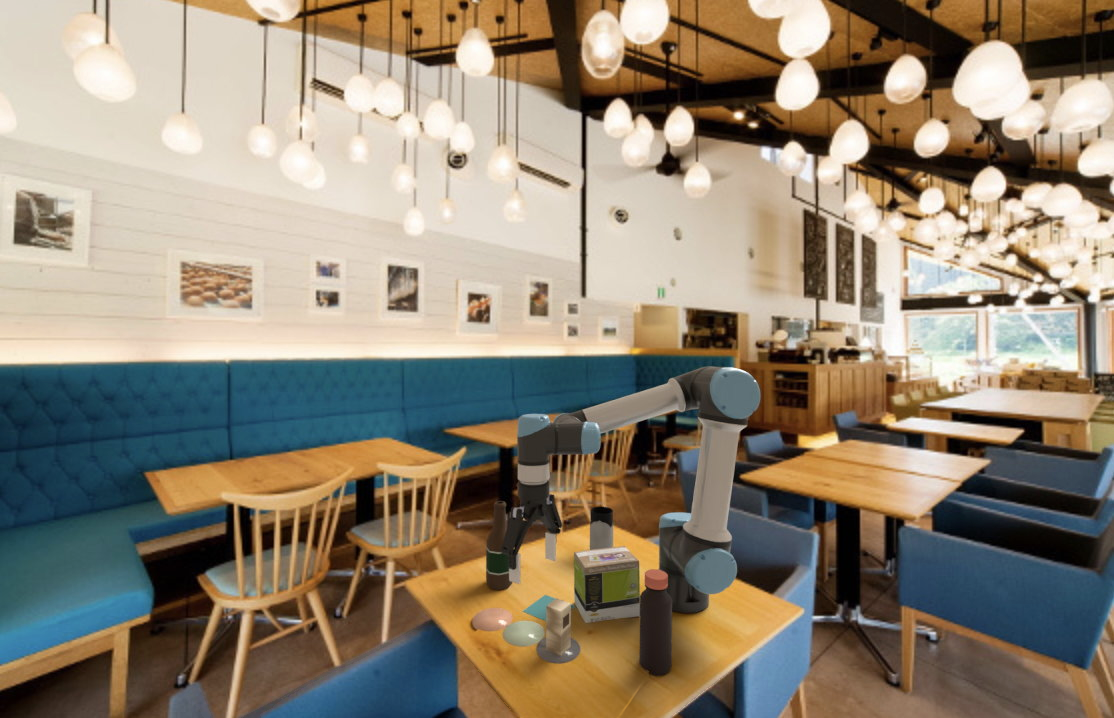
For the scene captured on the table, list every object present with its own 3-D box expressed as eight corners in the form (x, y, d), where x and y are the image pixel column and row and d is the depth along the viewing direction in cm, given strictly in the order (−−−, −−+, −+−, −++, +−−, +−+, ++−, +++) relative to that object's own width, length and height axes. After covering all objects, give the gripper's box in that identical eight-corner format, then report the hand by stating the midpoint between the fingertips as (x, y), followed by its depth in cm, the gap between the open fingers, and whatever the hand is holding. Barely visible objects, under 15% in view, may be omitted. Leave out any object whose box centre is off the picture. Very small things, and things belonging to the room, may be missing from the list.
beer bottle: (518, 583, 135) (518, 501, 134) (498, 593, 129) (499, 508, 128) (500, 574, 140) (500, 496, 139) (480, 584, 134) (480, 502, 133)
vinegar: (644, 677, 96) (645, 582, 96) (635, 656, 103) (636, 567, 102) (676, 675, 97) (677, 581, 96) (665, 654, 103) (666, 566, 103)
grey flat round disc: (588, 647, 106) (588, 644, 106) (564, 672, 97) (564, 669, 97) (552, 632, 111) (552, 629, 111) (527, 654, 103) (527, 651, 103)
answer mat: (575, 608, 122) (575, 606, 122) (554, 626, 113) (554, 624, 113) (545, 596, 127) (545, 594, 127) (522, 613, 119) (522, 611, 119)
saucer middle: (552, 632, 111) (552, 629, 111) (527, 654, 103) (527, 651, 103) (520, 618, 117) (520, 616, 117) (494, 638, 109) (494, 636, 109)
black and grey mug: (585, 558, 151) (586, 513, 151) (594, 541, 165) (594, 499, 165) (612, 562, 149) (612, 516, 149) (618, 544, 162) (618, 502, 162)
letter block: (570, 647, 105) (571, 603, 105) (561, 656, 101) (561, 611, 101) (556, 640, 107) (556, 598, 107) (546, 649, 104) (546, 605, 104)
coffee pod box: (625, 597, 127) (625, 544, 127) (640, 617, 118) (641, 560, 117) (573, 604, 124) (573, 549, 123) (584, 626, 114) (584, 566, 114)
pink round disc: (520, 618, 117) (520, 616, 117) (494, 638, 109) (494, 636, 109) (491, 606, 123) (491, 603, 122) (464, 624, 114) (464, 621, 114)
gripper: (551, 467, 120) (551, 547, 121) (484, 490, 100) (484, 587, 100) (575, 471, 116) (575, 554, 116) (510, 497, 96) (510, 598, 96)
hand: (533, 570), depth 108 cm, fingers open, 13 cm apart
